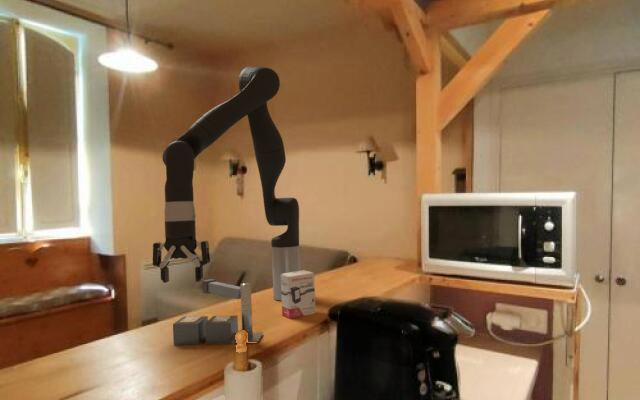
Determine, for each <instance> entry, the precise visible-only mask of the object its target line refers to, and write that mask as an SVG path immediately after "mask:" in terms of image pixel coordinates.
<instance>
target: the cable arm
mask: <svg viewBox="0 0 640 400" xmlns="http://www.w3.org/2000/svg"><path fill="white" fill-rule="evenodd" d="M202 294H206V295H208V294H215V295H219V296H223V297H227V298H231V299H233V300H234V299H235V300H241V288H240V286H238V285H233V284H230V283H229V284H228V283H224V282H219V281H217V279H213V278H210V279H205V280H202Z"/></svg>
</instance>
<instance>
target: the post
mask: <svg viewBox="0 0 640 400" xmlns="http://www.w3.org/2000/svg"><path fill="white" fill-rule="evenodd" d="M239 287H240V288H241V299H240V306H241V307H240V308H241V309H240V310H241V311H240V312H241V331H242V330H245V331H246V332H247V333H248V342H258V340H259V339H260V338H261V339H262V337H263V335H264V333H263V331H260V332H259V331H258V332H254V331H253V308H252V307H253V306H252V305H253V304H252V282H251V283H250V282H244V283H240V286H239ZM262 334H263V335H262ZM261 336H262V337H261ZM261 339H260V340H261ZM260 340H259V341H260ZM235 343H236V340H235V338H234V339H233V340H232V344H231V345H236V344H235ZM258 343H259V342H258Z"/></svg>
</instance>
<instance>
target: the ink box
mask: <svg viewBox="0 0 640 400" xmlns="http://www.w3.org/2000/svg"><path fill="white" fill-rule="evenodd" d="M315 289H316V287H315V272H312V271H310V270H306V269H303V270H300V271H296V272H289V273H283V274H281V296H282V300H281V315H282V316H284V317H286V318H287V319H295V318H300V317H304V316H308V315H309V316H310V315H315V314H316V290H315Z"/></svg>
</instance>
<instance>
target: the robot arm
mask: <svg viewBox="0 0 640 400" xmlns="http://www.w3.org/2000/svg"><path fill="white" fill-rule="evenodd" d="M280 82H281V80H280V76H279V74H278V73H277V72H276V71H275V70H274V69H272V68H270V67H267V66H246V67H245V68H243V69H242V70H241V72H240V73H239V76H238V89H239V92H238V93H237V94H236V95H234V96H233V97H231V98H229V99H228V100H226V101H224V102H222V103H220V104H219V105H216V106H215V107H212V109H210V110H208V111H207V112H206V113H204V114H203V115H202V116H201V117H200V118H198V119H197V120H196V121H195V122H193V124H191V126H190V127H189V128H188V129H187V130H186V132H184V133H183V134H181V136H179V137H178V138H177V139H175V141H173V142H171V143H169V144H168V145H167V146H166V147H165V149H164V150H163V153H162V155H161V157H162V163H163V164H164V165H165V171H166V174H165V176H166V178H165V179H166V181H165V183H164V236H165V241H164V242H161V241H157V242H154V243H153V245H152V266H154V267H158V268H159V270H160V280H161V281H162V283H169V282H170V273H169V272H170V271H169V270H170V268H169V265H170V264H171V262H172V261H173V260H174V259H175V260H176V259H177V260H178V259H183V260H184V259H189V260H190V261H191V262H192V263H193V264H194V265H195V268H194V270H195V271H194V272H195V273H194V274H195V283H200V282H201V281H202V279H204V266H205V265H207V264H209V263H210V262H211V256H210V255H211V254H210V247H209V246H210V244H209V240H206V239H205V240H203V241H198V240H197V232H196V230H197V229H196V210H195V209H196V208H195V203H194V198H195V197H194V185H193V184H194V183H193V181H194V180H193V179H194V169H195V159H196V158H197V157H198V156H199V155H200V154H201V153H202V152H203V151H204V150H206V149H207V148H209V147H210V146H211V145H213V144H214V143H215V142H216V141H218V139H219V138H221V137H222V136H223V135H224V134H225V133H226V132H227V131H228V130H230V129H231V127H233V126H234V125H236V124H237V123H238V122H239V121H241V120H242V119H243V118H245V117H246V116H247V119H248V124H249V126H248V127H249V130H250V135H251V138H252V146H253V150H254V155H255V161H256V165H257V169H258V174H259V178H260V179H259V180H260V183H261V190H262V199H263V200H262V201H263V207H264V214H265V215H264V216H265V220H266V221H267V223H268V225H270V226H274V227H275V226H276V227H277V226H281V227H282V226H283V227H284V226H287V228H286V230H285V231H284V232H283V233H282V234H279V235H276V236H274V237H272V238H271V242H270V243H271V244H270V245H271V261H272V263H271V264H272V267H271V268H272V288H273V289H272V292H273V299H274V300H276V301H282V296H281V274H283V273H289V272H296V271H301V257H300V205H299V202H298V200H297V198H295V197H278V198H277V197H276V194H275V193H276V192H275V189H276V185H277V184H278V183H277V182H278V180H279V178H280V176H281V174H282V172H283V170H284V167H285V164H286V161H287V160H286V159H287V157H286V152H285V151H286V150H285V146H284V145H285V144H284V141H283V137H282V136H281V133H280V131H279V129H278V128H277V125H276V124H275V123H274V121H273V119H272V117H271V115H270V112H269V109H268V101H270V100H272V99H273V98H274V97H275V96H276V95H277V94H278V92H279V91H280V86H281V85H280V84H281V83H280ZM197 247H198V248H199V250H201V257H200V255H199V254H198V253H197V251H196V249H197ZM164 249H165V250H166V255H165V256H164V257H163V258H162V252H163V250H164ZM162 259H163V260H162Z"/></svg>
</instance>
